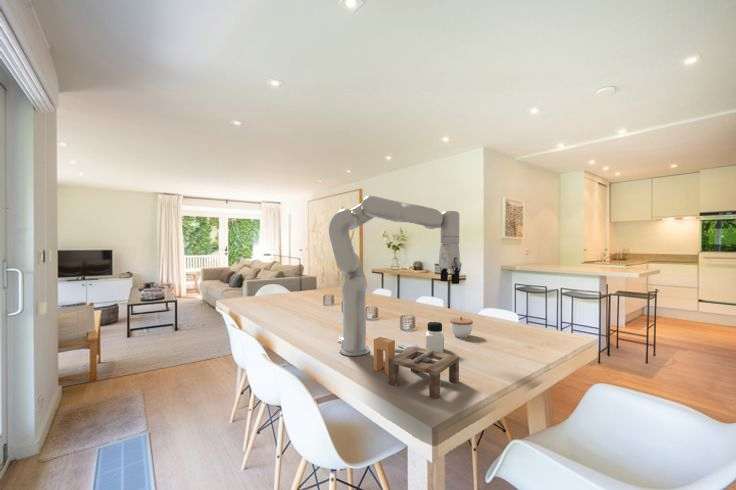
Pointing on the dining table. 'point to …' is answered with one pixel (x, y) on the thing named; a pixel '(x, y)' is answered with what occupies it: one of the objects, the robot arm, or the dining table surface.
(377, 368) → the orange boxy part
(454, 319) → the lidded jar
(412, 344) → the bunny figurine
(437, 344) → the medicine bottle
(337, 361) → the dining table surface
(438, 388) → the brown square frame
